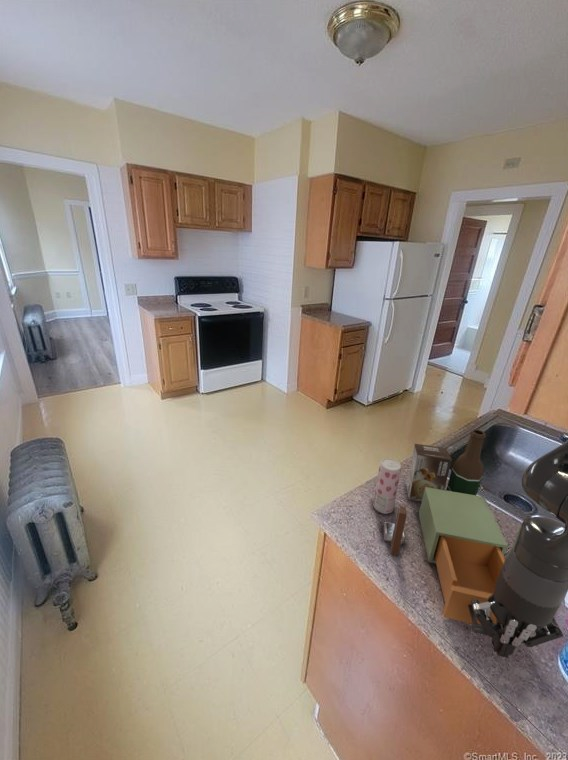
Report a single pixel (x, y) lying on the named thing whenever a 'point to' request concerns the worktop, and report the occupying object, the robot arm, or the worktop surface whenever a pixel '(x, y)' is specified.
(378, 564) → the worktop surface
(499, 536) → the cabinet
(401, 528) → the scoop
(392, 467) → the beverage can
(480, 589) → the drawer
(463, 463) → the beer bottle
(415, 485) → the coffee box
